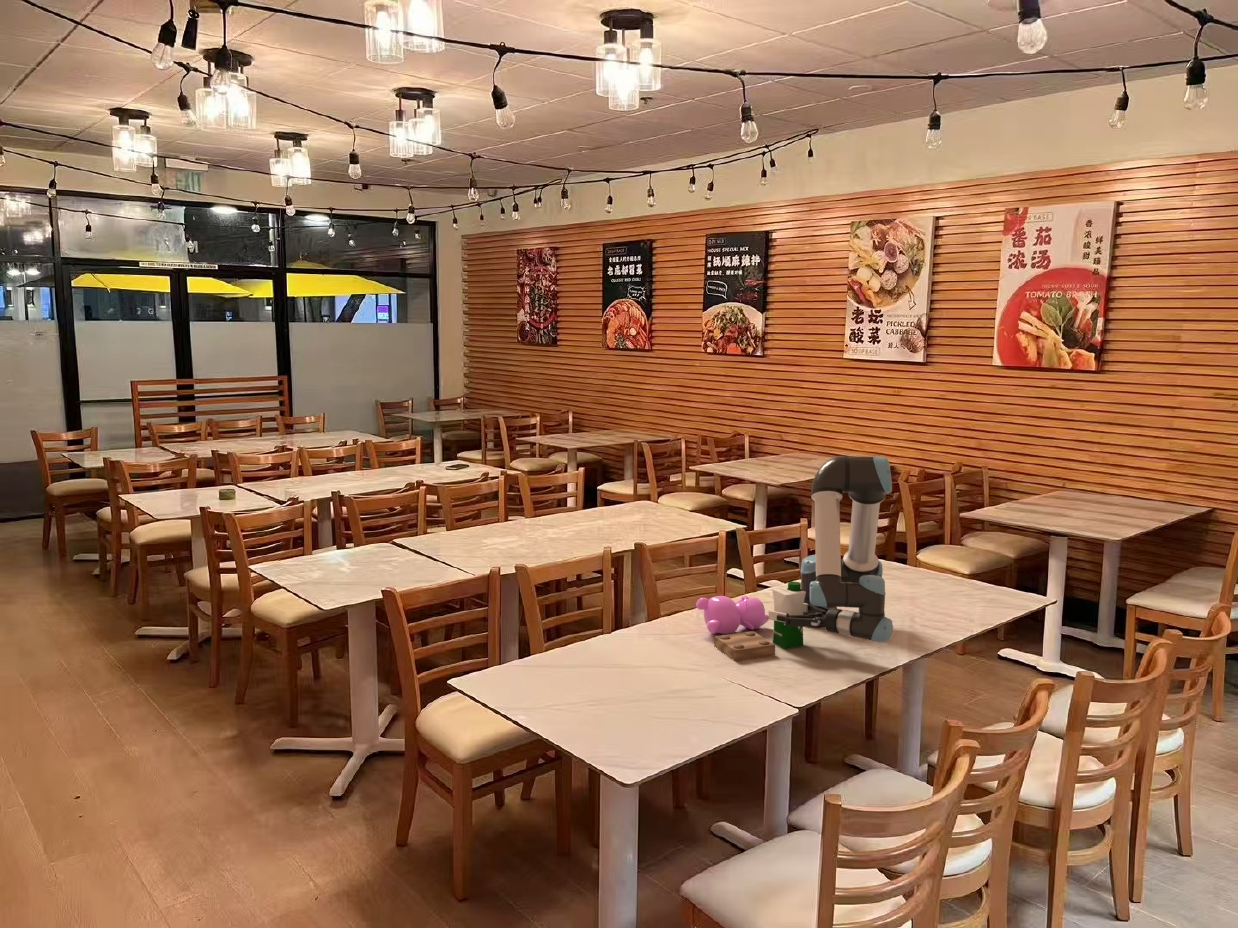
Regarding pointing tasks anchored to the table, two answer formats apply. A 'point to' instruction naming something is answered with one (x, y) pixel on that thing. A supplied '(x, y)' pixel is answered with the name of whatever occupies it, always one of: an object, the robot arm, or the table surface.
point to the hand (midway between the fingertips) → (779, 609)
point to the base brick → (744, 646)
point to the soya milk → (792, 604)
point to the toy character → (732, 613)
